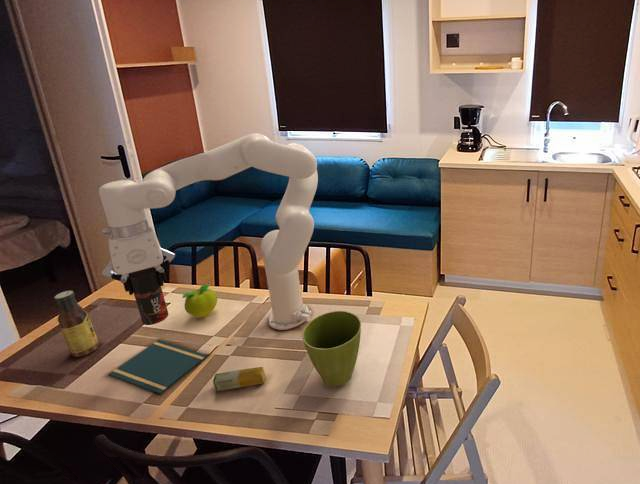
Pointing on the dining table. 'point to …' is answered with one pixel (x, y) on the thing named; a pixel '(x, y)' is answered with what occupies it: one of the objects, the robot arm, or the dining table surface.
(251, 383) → the medication box
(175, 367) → the cloth
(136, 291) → the deodorant
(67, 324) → the sauce bottle
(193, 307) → the fruit
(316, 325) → the flower pot
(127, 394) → the dining table surface
